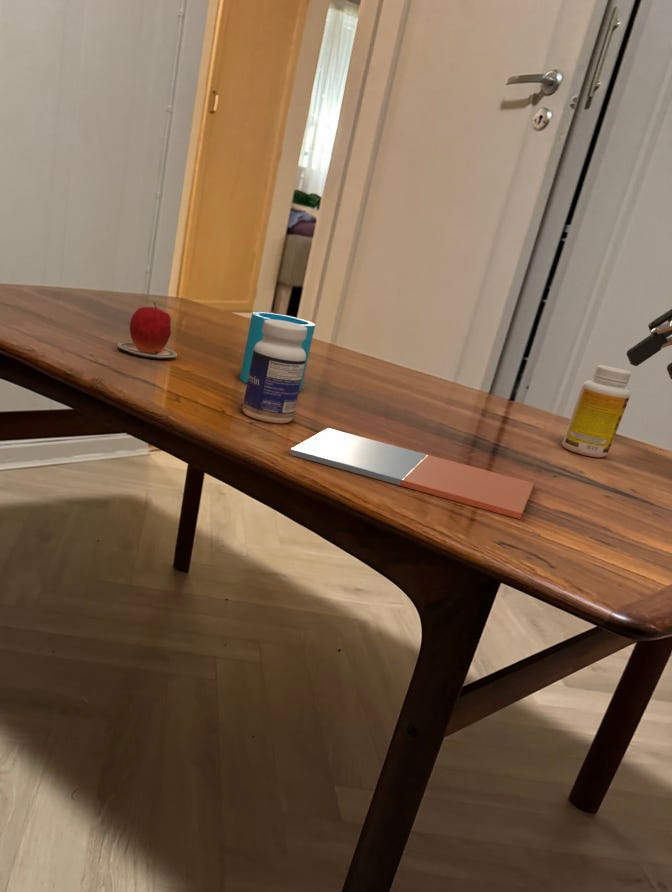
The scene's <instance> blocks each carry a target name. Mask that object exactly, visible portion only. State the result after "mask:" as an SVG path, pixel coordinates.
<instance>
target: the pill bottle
mask: <svg viewBox="0 0 672 892" xmlns="http://www.w3.org/2000/svg"><path fill="white" fill-rule="evenodd" d="M262 332H263V335H264V336H263V339H262V340H261V341H259V342H258V343H257V344H256V345H255V347H254V351H253V356H252V361H251V366H250V371H249V376H248V382H247V383H246V386H245V387H246V388H245V392H244V398H243V404H242V412H243V413H244V414H245V415H246V416H247V417H249V418H251V419H255V420H257V421H261V422H266V423H270V424H288V423H290V422H291V421H293V419H294V415H295V412H296V408H297V402H298V397H299V392H300V391H299V388H300V384H301V379H302V374H303V370H304V365H305V361H306V353H305V351H304V350H303V349H302V347H301V345H302V342H303V341H304V340H305V339H306V334H307V328H306V327H305V326H302V325H300V324H296V323H292V322H287V321H282V320H272V319H268V320H264V323H263V328H262Z"/></svg>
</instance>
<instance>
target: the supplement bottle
mask: <svg viewBox="0 0 672 892" xmlns="http://www.w3.org/2000/svg"><path fill="white" fill-rule="evenodd" d="M631 376H632V372H631V371H630V370H627V369H623V368H618V367H616V366H615V367H614V366H610V365H603V364H598V365H597V366H596V368H595V371H594V373H593V376H592V379H593V380H589V379H588V380H586V381H584V382H583V384H582V385H581V388H580V392H579V394H578V396H577V399H576V402H575V405H574V408H573V411H572V413H571V416H570V418H569V422H568V425H567V428H566V430H565V433H564V436H563V439H562V446H563V447H564V449H566V450H567V451H570V452H572V453H576V454H578V455H579V454H580V455H583V456H587V457H592V458H604V457H606V456H607V455H608V454H609V451H610V449H611V447H612V444H613V442H614V438H615V437H616V434H617V432H618V429H619V426H620V424H621V421H622V418H623V416H624V413H625V411H626V408H627V405H628V403H629V400H630V398H631V391H630V390H629V389H628V388H626V387H627V386H628V383H629V382H630V379H631Z"/></svg>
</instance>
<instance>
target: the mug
mask: <svg viewBox="0 0 672 892" xmlns="http://www.w3.org/2000/svg"><path fill="white" fill-rule="evenodd" d="M268 319H272V320H282V321H287V322H292V323H296V324H300V325H302V326H305V327H306V328H307V334H306V339H305V340H304V341H303V342H302V345H301V347H302V349H303V350H304V351H305V353H306V361H305V365H304V370H303V374H302V379H301V384H300V388H299V392H301V391H302V387H303V383H304V379H305V373H306V370H307V369H306V368H307V364H308V359H309V355H310V350H311V346H312V342H313V337H314V332H315V328H316V324H315V323H313V322H312V321H309V320H307V319H303V318H299V317H295V316H291V315H285V314H282V313H281V314H279V313H273V312H267V311H252V312H251V316H250V321H249V327H248V333H247V337H246V343H245V349H244V354H243V359H242V364H241V369H240V375H239V380H240V381H242V382H244V383H245V384H247V382H248V376H249V371H250V366H251V361H252V356H253V351H254V347H255V345H256V344H257V343H258V342H259V341H261V340H262V339H263V336H264V335H263V332H262V328H263V323H264V320H268Z"/></svg>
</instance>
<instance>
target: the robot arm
mask: <svg viewBox="0 0 672 892" xmlns="http://www.w3.org/2000/svg"><path fill="white" fill-rule="evenodd" d="M647 327H648V330H649V333H650V334H649V335H648V336H646V337H645V338H644V339H642V340H641V341H640V342H638V343H636V344H635V345H634V346H632V347H631V348H629V349H628V350H627V351H626V357H627V359H628V362H629V364H630V365H632V366H633V367H638V366H639V365H641V364H643V363H644V362H646V361H647V360H648V359H650V358H651V357H653V356H654V355H656V354H658V353H659V352H660V351H662V349H664V348H667V347H670V346H672V308H670V309H669V310H668V311H666V312H664V313H663V314H661V315H660V316H658V317H657V318H655V319H653V320H652V321H650V322H649V323H648V324H647ZM666 370H667V373H668V375H669V378H670V379H671V380H672V361H671V362H670V363H668V364H667V366H666Z"/></svg>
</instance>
